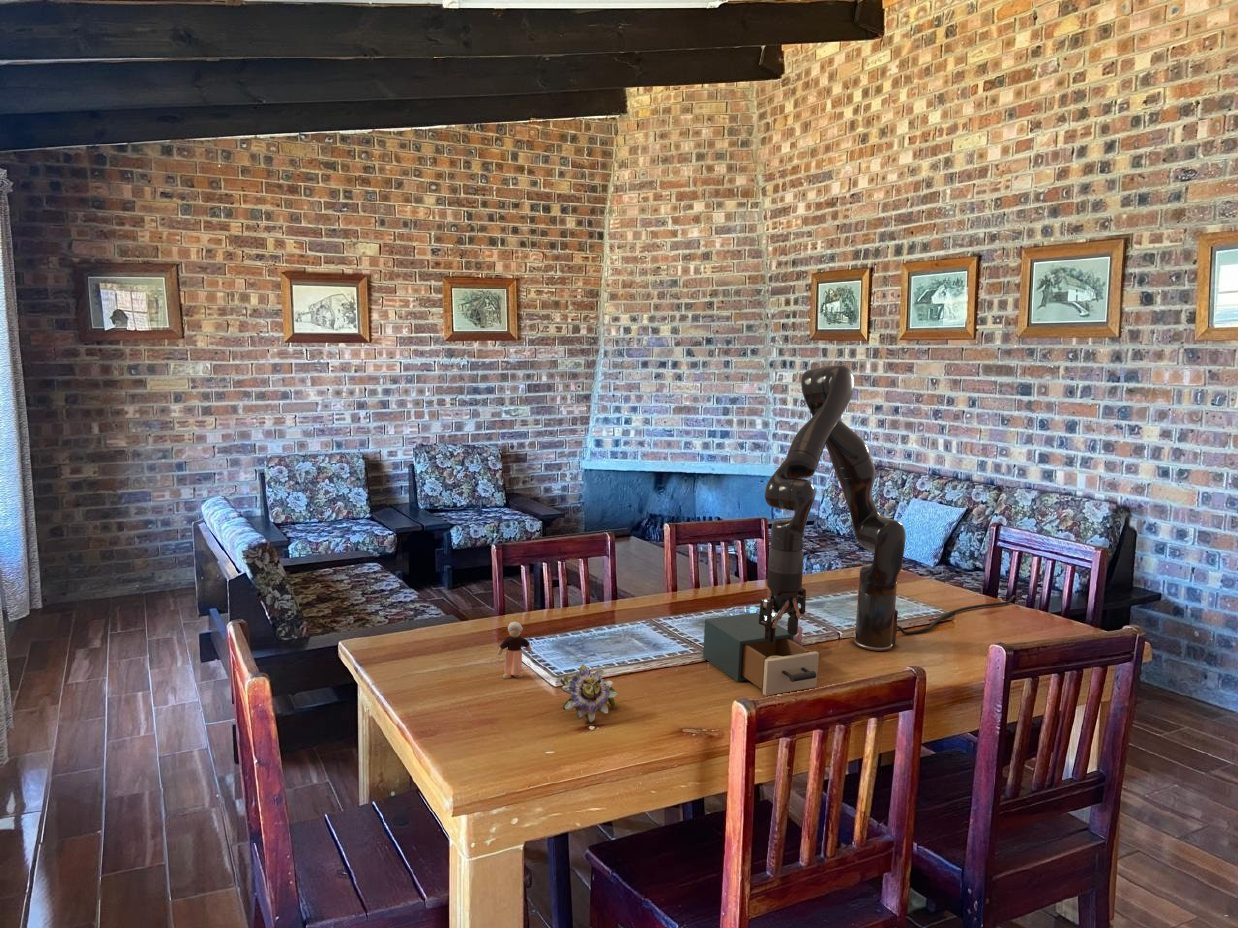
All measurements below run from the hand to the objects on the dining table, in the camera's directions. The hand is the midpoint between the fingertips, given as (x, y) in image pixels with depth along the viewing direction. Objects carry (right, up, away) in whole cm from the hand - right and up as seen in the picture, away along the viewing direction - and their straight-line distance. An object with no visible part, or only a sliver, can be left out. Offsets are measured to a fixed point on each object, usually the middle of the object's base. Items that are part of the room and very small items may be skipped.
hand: (781, 638), depth 194 cm
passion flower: (-43, -13, -14) cm, 47 cm away
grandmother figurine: (-59, -9, +3) cm, 60 cm away
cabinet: (-6, -9, +13) cm, 17 cm away
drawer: (0, -10, +2) cm, 10 cm away
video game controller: (+7, -8, +24) cm, 26 cm away
